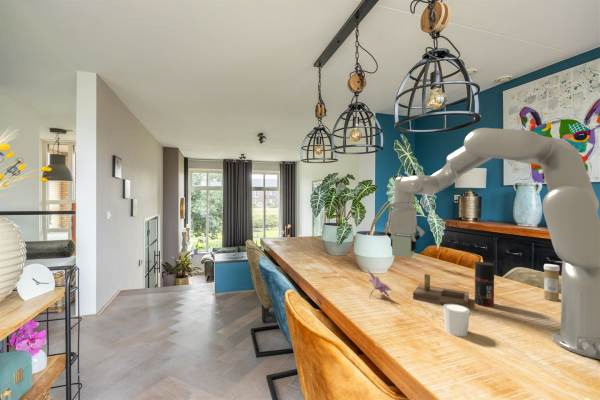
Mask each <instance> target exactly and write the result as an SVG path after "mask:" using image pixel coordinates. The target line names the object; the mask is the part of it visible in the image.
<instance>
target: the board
mask: <svg viewBox="0 0 600 400" xmlns="http://www.w3.org/2000/svg"><path fill="white" fill-rule="evenodd" d="M423 283H424V284H422V283H421V284H418V286H416V288H415V289H414V291H413V292H412V299H413V300H417V301H423V302H429V303H432V304H433V303H434V304H438V305H442V306H443V305H445V304H457V305H461V306H464V307H467V308H468V309H469V307H468V306H469V298H470V293H469V292H468V291H464V290H457V289H451V288H445V287H438V286H432V285H431V274H428V273H425V274H424V282H423Z"/></svg>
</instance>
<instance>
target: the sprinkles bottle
mask: <svg viewBox="0 0 600 400" xmlns="http://www.w3.org/2000/svg"><path fill="white" fill-rule="evenodd" d="M560 269H561V268H560V265H557V264H551V263H544V265H543V270H544V273H543V274H544V277H543V281H544V282H543V298H544V299H545V300H548V301H554V302H558V301H560Z"/></svg>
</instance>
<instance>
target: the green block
mask: <svg viewBox="0 0 600 400" xmlns="http://www.w3.org/2000/svg"><path fill="white" fill-rule="evenodd" d="M411 242H412V237H411V236H410V235H402V234H396V235H394V236H392V247H391V249H392V250H391V251H392V252H391V255H392V256H393V257H402V258H411V257H413V256H414V255H415V253H414V252H415V250H414V251H411Z"/></svg>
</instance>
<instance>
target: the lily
mask: <svg viewBox="0 0 600 400" xmlns="http://www.w3.org/2000/svg"><path fill="white" fill-rule="evenodd" d="M367 272H368V274H369V275H370V277H371V279H369V280H368V281H369V282H370V283H372V284H373V289H372V291H371V292H370V294H369V299H370V298H371V296H372V294H373V292H374V290H378V291H379V292H380V294H382V293H383V294H384V295H386V296H387V298H388V299H390V295H389V293H388V291H392V288H390V287H389V286H388V285H387V284H386V283H383V282H381V280H380V278H379V277H378V275H377V276H375V275H374V274H373V273H372V272H371V271H370V270H368V269H367Z"/></svg>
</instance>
